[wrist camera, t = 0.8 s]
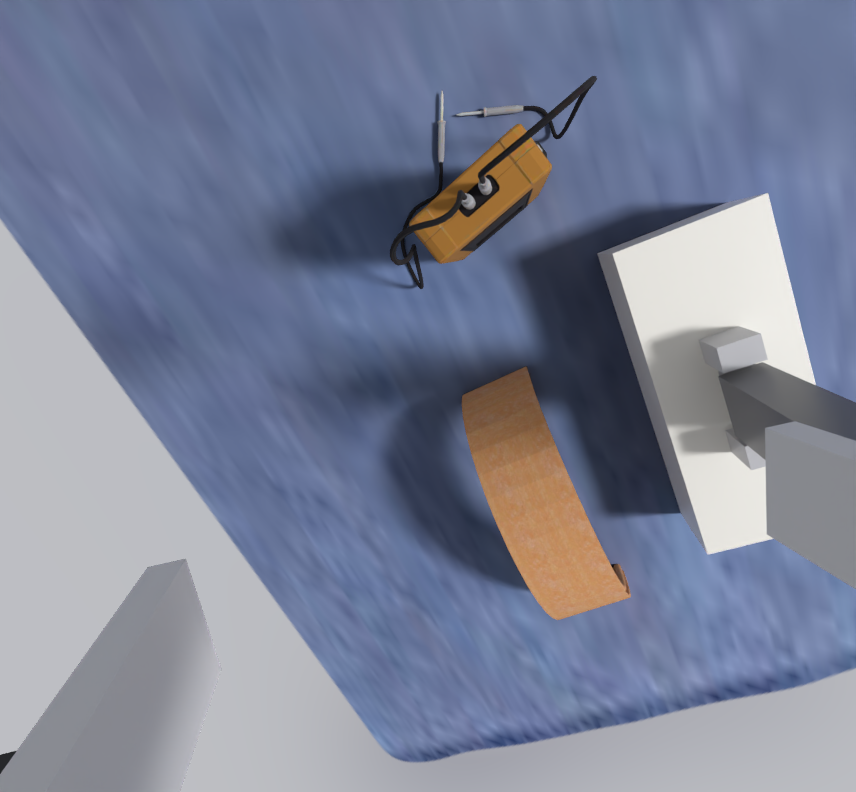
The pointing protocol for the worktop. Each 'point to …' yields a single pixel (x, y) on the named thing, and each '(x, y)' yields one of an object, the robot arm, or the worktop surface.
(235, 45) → the worktop surface
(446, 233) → the multimeter
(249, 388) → the worktop surface
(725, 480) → the white rectangular slab
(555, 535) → the arch
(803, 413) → the lever
